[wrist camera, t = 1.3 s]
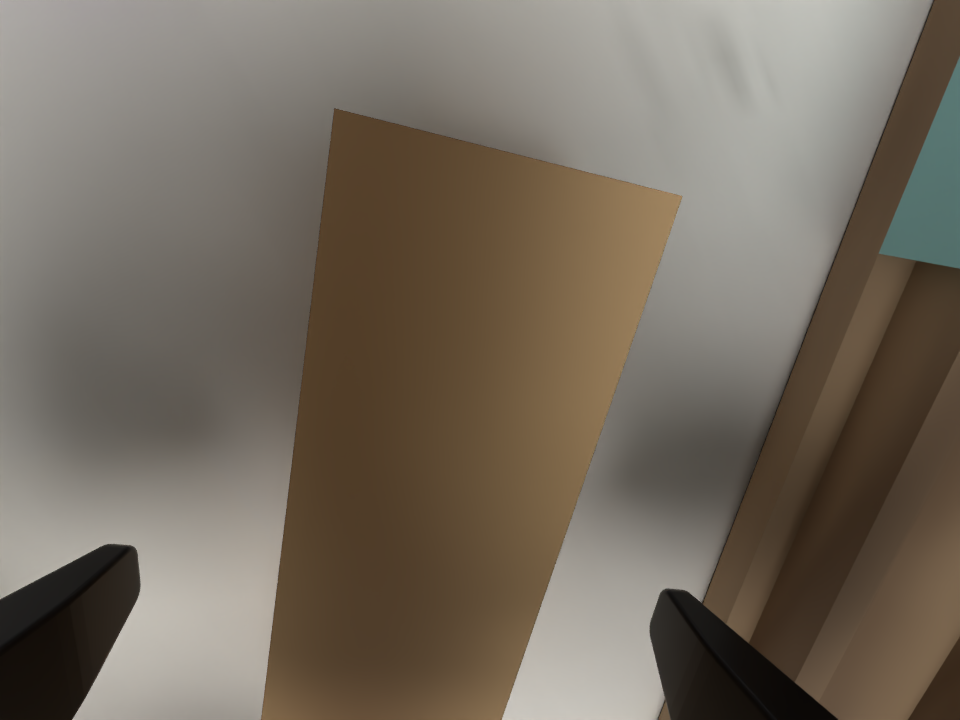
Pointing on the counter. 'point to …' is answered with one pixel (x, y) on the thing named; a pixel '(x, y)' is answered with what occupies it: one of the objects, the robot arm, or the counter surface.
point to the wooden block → (446, 415)
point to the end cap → (932, 192)
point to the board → (865, 462)
